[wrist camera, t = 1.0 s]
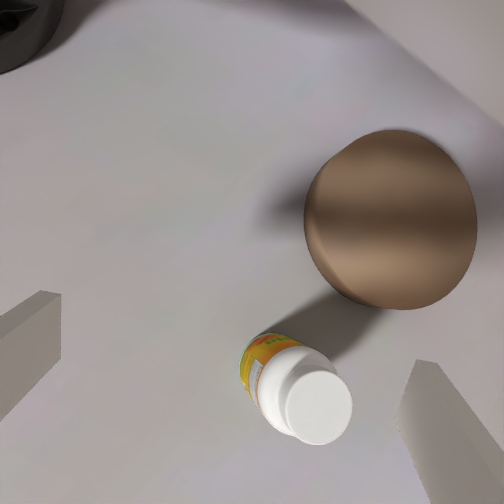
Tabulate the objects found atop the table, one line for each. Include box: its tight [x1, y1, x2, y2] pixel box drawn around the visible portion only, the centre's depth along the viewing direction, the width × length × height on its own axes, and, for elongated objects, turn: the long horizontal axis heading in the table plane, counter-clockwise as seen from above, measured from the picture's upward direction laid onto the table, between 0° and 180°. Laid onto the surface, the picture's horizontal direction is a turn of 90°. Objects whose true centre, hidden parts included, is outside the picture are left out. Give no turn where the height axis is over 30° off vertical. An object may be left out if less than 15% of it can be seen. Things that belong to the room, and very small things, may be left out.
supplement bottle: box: [239, 333, 353, 445], centre depth 24 cm, size 5×5×10 cm
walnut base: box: [304, 130, 477, 310], centre depth 30 cm, size 15×15×3 cm
